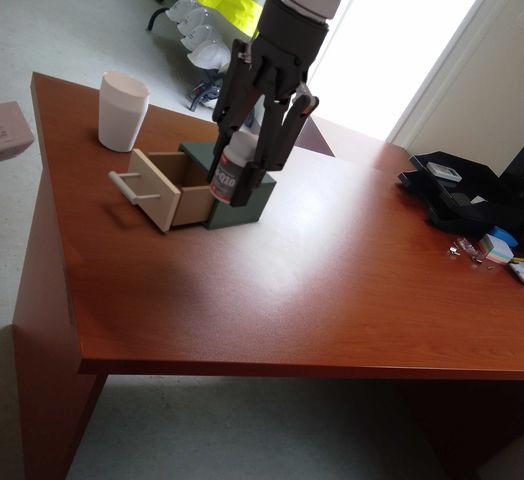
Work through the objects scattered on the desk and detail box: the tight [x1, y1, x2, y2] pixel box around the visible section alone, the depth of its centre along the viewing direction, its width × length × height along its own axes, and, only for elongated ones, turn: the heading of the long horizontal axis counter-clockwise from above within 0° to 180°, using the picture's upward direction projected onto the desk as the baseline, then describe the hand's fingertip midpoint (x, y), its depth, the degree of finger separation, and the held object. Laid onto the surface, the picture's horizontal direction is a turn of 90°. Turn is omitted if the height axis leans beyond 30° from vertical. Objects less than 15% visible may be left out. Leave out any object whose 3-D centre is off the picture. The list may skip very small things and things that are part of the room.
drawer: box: [107, 148, 217, 232], centre depth 81 cm, size 19×12×8 cm, turn 136°
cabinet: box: [176, 141, 278, 231], centre depth 91 cm, size 15×14×10 cm
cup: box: [98, 70, 151, 153], centre depth 90 cm, size 9×9×12 cm
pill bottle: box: [210, 131, 258, 204], centre depth 62 cm, size 5×5×8 cm
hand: (226, 192), depth 64 cm, fingers closed on pill bottle, 5 cm apart
